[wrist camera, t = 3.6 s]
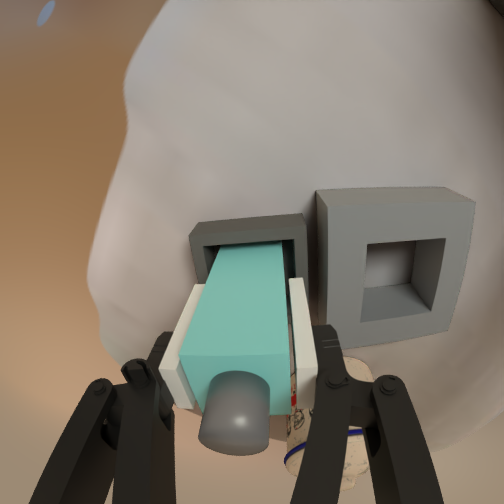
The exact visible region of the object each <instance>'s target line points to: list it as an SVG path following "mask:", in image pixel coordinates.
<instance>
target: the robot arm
mask: <svg viewBox="0 0 504 504" xmlns="http://www.w3.org/2000/svg"><path fill="white" fill-rule="evenodd" d="M489 1H490V2H491V3H492V4H493V6H494V7H495V8H496V9H497V10H498V12H499V13H500V14H501V15H502V16H503V17H504V0H489ZM204 286H205V284H195V285H194V288H193V290H192V292H191V294H190V296H189V299H188V301H187V303H186V305H185V308H184V310H183V312H182V314H181V317H180V319H179V321H178V324H177V326H176V328H175V330H174V332H163V333H162V334H161V335H160V336H159V337H158V338H157V340H156V342H155V344H154V347H153V348H152V350H151V353H150V355H149V357H148V359H147V361H146V360H144V359H133V360H130V361H128V362H126V363H125V364H124V365H123V366H122V368H121V372H122V374H123V376H124V377H125V379H126V381H127V383H125V384H119V385H112V383H111V382H110V381H109V380H108V379H105V378H103V379H102V378H100V379H97V380H95V381H93V382H92V383H91V384H90V385H89V386H88V388H87V390H86V391H85V393H84V395H83V396H82V398H81V400H80V402H79V403H78V406H77V407H76V409H75V411H74V413H73V414H72V416H71V418H70V420H69V422H68V423H67V425H66V427H65V429H64V431H63V433H62V435H61V437H60V439H59V440H58V442H57V444H56V446H55V448H54V450H53V452H52V454H51V456H50V458H49V460H48V463H47V464H46V467H45V469H44V471H43V473H42V475H41V477H40V479H39V482H38V484H37V486H36V488H35V490H34V493H33V495H32V497H31V500H30V502H29V504H104V503H105V500H106V497H107V495H108V492H109V489H110V486H111V483H112V481H113V478H114V484H113V485H114V486H113V497H112V504H176V489H175V456H174V454H175V453H174V418H175V415H174V411H173V410H172V406H173V403H174V402H175V404H176V406H177V408H183V409H194V405H195V401H196V398H195V396H194V393H193V391H192V389H191V386H190V384H189V381H188V379H187V376H186V374H185V371H184V369H183V366H182V364H181V361H180V358H179V356H178V354H179V352H180V349H181V346H182V344H183V341H184V338H185V336H186V333H187V330H188V328H189V325H190V322H191V320H192V317H193V315H194V312H195V309H196V307H197V304H198V302H199V299H200V297H201V294H202V292H203V289H204ZM289 291H290V311H291V326H292V339H293V353H294V368H295V384H296V401H297V409H308V408H313V412H312V417H311V422H310V427H309V432H308V436H307V441H306V445H305V449H304V453H303V458H302V462H301V466H300V469H299V473H298V477H297V481H296V484H295V488H294V492H293V495H292V499H291V502H290V504H337V503H338V498H339V493H340V487H341V481H342V476H343V469H344V463H345V456H346V448H347V441H348V432H349V426H354V427H361V428H362V432H363V437H364V441H365V446H366V451H367V456H368V461H369V466H370V472H371V476H372V482H373V488H374V494H375V500H376V504H444V502H443V498H442V494H441V490H440V486H439V483H438V479H437V476H436V472H435V469H434V466H433V463H432V459H431V456H430V453H429V450H428V447H427V444H426V441H425V438H424V435H423V432H422V429H421V426H420V423H419V421H418V418H417V415H416V413H415V410H414V407H413V405H412V402H411V399H410V397H409V394H408V392H407V389H406V387H405V384H404V383H403V381H402V380H401V379H400V378H398V377H397V376H393V375H383V376H381V377H378V378H377V379H376V380H375V381H374V382H367V381H360V380H357V379H355V378H353V377H352V376H350V375H349V373H348V372H347V370H346V366H345V362H344V358H343V354H342V350H341V346H340V343H339V340H338V335H337V331H336V330H335V329H334V328H333V327H332V326H331V325H330V324H327V325H317V326H311V321H310V315H309V310H308V304H307V298H306V293H305V287H304V282H303V278H290V279H289ZM105 419H106V420H105Z"/></svg>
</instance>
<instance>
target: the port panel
mask: <svg viewBox="0 0 504 504" xmlns="http://www.w3.org/2000/svg"><path fill="white" fill-rule="evenodd" d="M316 203H317V229H318V320H319V324H320V325H327V324H330V325H331V326H332V327H333V328H334V329H335V330H336V331H337V335H338V340H339V343H340V346H341V349H349V348H357V347H364V346H371V345H377V344H384V343H390V342H396V341H401V340H407V339H412V338H417V337H422V336H427V335H432V334H436V333H441V332H445V331H448V328H449V325H450V322H451V319H452V316H453V312H454V309H455V306H456V302H457V299H458V295H459V292H460V288H461V284H462V280H463V276H464V271H465V267H466V262H467V257H468V252H469V247H470V241H471V235H472V229H473V222H474V214H475V205H476V202H475V201H473V200H471V199H469V198H467V197H465V196H462V195H460V194H458V193H456V192H454V191H452V190H450V189H447V188H445V187H381V188H351V189H330V190H316ZM411 240H416V248H415V256H414V263H413V270H412V276H411V282H410V283H408V284H400V285H391V286H383V287H374V288H365V289H364V281H365V269H366V255H367V244H372V243H385V242H398V241H411Z"/></svg>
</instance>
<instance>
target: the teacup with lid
mask: <svg viewBox="0 0 504 504" xmlns="http://www.w3.org/2000/svg"><path fill="white" fill-rule="evenodd" d="M343 358H344V362H345V366H346V370H347V372H348V373H349V375H350V376H352V377H353V378H355V379H357V380H360V381H367V382H374V380H373V377H372V374H371V371H370V369H369V367H368V366H367V365H366V364H365V363H363V362H362V361H360V360H358V359H355V358H351V357H345V356H343ZM290 382H291V414H288V415H287V454H286V456H285V458H284V464H285V466H286V468H287V470H288V471H289V472H290V473H291V474H292V475H294V476H296V477H298V473H299V469H300V466H301V462H302V458H303V453H304V449H305V445H306V441H307V436H308V432H309V427H310V422H311V417H312V412H313V408H308V409H297V401H296V384H295V373H294V374H293V375H292V376H291V378H290ZM369 469H370V466H369V461H368V456H367V451H366V446H365V441H364V437H363V432H362V428H361V427H354V426H349V432H348V441H347V448H346V456H345V463H344V469H343V476H342V481H341V487H340V491H345V490H349V489H351V488H353V487H354V486H355V484H356V479H355V478H357V477H359V476H361V475H363V474H364V473H366V472H367V471H368V470H369Z"/></svg>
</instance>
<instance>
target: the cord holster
mask: <svg viewBox="0 0 504 504" xmlns="http://www.w3.org/2000/svg"><path fill="white" fill-rule="evenodd" d="M286 239H292V242H293V259H294V278H303V282H304V287H305V293H306V298H307V304H308V310H309V303H308V254H307V228H306V223H305V221H304V218H303V215H302V213H301V214H288V215H275V216H263V217H251V218H240V219H229V220H219V221H209V222H199V223H198V224H197V225H196V226H195V228H194V229H193V230H192V232H191V233H190V234H189V241H190V245H191V250H192V255H193V260H194V264H195V269H196V274H197V278H198V282H199V284H206V281H207V279H208V276H209V274H210V271H211V269H212V266H213V264H214V261H215V255H214V249H213V245H223V244H235V243H248V242H261V241H273V240H286ZM286 306H287V321H288V324H291V311H290V295H287V296H286Z"/></svg>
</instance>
